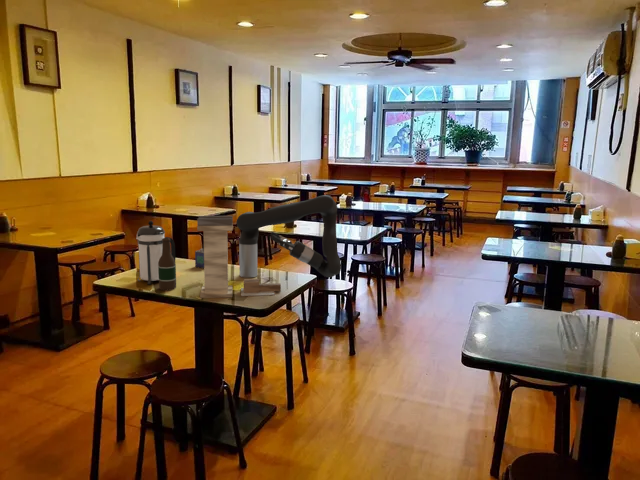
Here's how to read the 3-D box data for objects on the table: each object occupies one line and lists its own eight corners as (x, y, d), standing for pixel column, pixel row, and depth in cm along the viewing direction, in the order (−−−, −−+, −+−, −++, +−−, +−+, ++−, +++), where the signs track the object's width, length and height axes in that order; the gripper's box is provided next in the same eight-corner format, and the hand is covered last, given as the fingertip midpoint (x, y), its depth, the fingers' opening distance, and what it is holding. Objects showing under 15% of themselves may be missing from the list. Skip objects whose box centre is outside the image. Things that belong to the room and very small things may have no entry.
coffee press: (165, 285, 237) (163, 223, 231) (132, 284, 237) (129, 222, 232) (176, 276, 254) (174, 218, 248) (145, 275, 254) (143, 217, 249)
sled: (243, 289, 232) (243, 278, 231) (280, 288, 234) (280, 278, 233) (243, 292, 226) (243, 282, 225) (280, 292, 229) (280, 281, 228)
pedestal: (201, 289, 232) (199, 215, 225) (233, 288, 234) (232, 215, 228) (198, 298, 218) (196, 219, 212) (233, 297, 221) (232, 219, 214)
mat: (241, 289, 233) (241, 288, 233) (272, 288, 236) (272, 287, 236) (241, 296, 223) (241, 295, 223) (274, 295, 225) (274, 294, 225)
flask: (210, 268, 272) (209, 249, 270) (206, 269, 270) (206, 249, 268) (197, 266, 277) (196, 247, 275) (193, 267, 274) (193, 248, 272)
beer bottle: (155, 289, 231) (153, 238, 226) (167, 285, 237) (165, 236, 233) (167, 291, 227) (166, 240, 223) (179, 287, 234) (178, 237, 230)
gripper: (303, 242, 236) (274, 225, 232) (308, 248, 222) (276, 230, 218) (295, 255, 236) (266, 239, 233) (299, 262, 223) (268, 245, 219)
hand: (271, 235), depth 225 cm, fingers open, 8 cm apart
